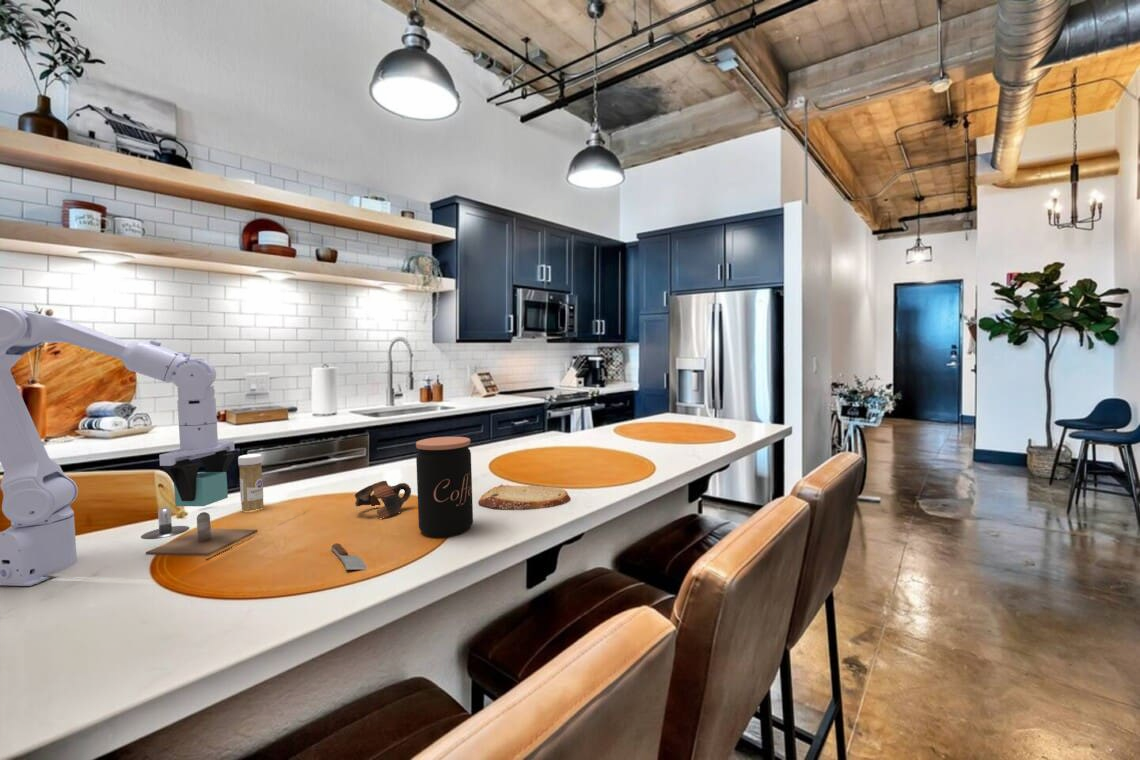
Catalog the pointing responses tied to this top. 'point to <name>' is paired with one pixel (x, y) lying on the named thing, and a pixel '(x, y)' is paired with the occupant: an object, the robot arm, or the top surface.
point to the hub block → (202, 540)
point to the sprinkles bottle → (251, 481)
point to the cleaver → (348, 558)
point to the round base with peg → (165, 526)
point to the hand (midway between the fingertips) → (202, 495)
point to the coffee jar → (444, 486)
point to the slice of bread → (523, 497)
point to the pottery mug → (384, 497)
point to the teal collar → (206, 489)
